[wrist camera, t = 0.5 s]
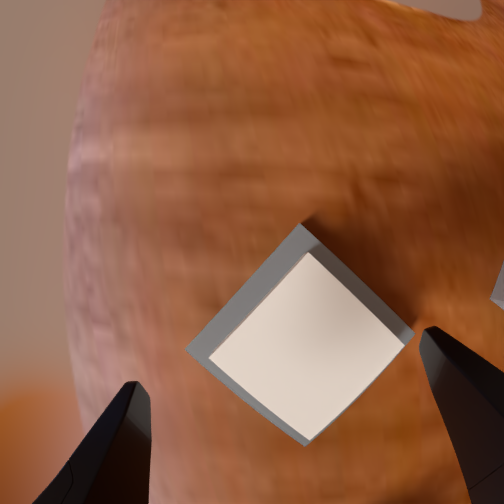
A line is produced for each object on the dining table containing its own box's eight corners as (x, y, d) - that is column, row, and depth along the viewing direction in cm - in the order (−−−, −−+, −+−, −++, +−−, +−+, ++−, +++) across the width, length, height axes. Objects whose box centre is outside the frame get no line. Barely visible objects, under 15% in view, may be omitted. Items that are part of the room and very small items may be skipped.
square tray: (402, 327, 24) (415, 333, 21) (302, 432, 24) (305, 446, 21) (296, 227, 24) (299, 222, 22) (192, 341, 24) (184, 349, 22)
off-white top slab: (391, 337, 21) (404, 345, 19) (305, 424, 21) (309, 440, 19) (303, 253, 22) (308, 252, 19) (214, 348, 22) (208, 358, 19)
